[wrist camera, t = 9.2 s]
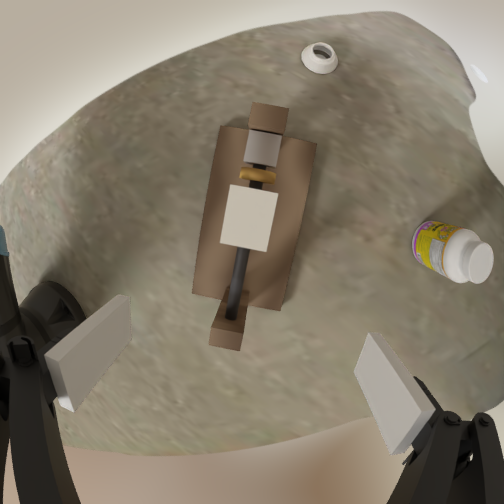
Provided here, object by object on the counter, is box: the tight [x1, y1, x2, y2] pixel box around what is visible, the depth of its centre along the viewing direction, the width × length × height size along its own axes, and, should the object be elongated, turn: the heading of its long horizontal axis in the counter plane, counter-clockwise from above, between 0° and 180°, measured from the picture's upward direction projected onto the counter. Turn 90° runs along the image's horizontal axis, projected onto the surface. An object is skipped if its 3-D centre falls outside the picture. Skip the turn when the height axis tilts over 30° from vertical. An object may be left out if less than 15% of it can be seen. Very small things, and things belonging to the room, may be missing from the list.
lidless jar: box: [302, 42, 338, 74], centre depth 28 cm, size 5×3×5 cm
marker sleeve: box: [220, 184, 278, 252], centre depth 25 cm, size 4×5×4 cm
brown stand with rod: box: [192, 102, 317, 351], centre depth 29 cm, size 12×22×13 cm, turn 169°
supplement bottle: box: [412, 221, 493, 284], centre depth 28 cm, size 7×7×13 cm
